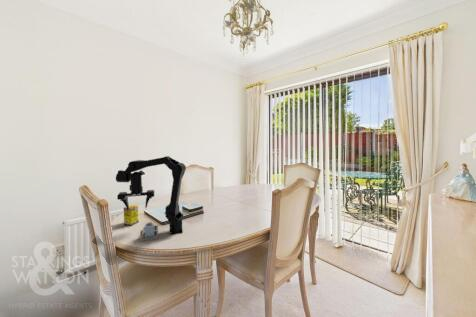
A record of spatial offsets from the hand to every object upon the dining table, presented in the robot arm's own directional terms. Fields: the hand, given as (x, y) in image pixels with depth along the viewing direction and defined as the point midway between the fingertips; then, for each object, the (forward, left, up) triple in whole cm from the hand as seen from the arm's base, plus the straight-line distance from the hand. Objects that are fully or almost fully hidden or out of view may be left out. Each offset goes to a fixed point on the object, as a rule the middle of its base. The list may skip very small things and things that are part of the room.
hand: (137, 209), depth 121 cm
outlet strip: (-7, +8, -12) cm, 16 cm away
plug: (-7, +12, -13) cm, 19 cm away
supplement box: (+5, -11, -13) cm, 18 cm away
